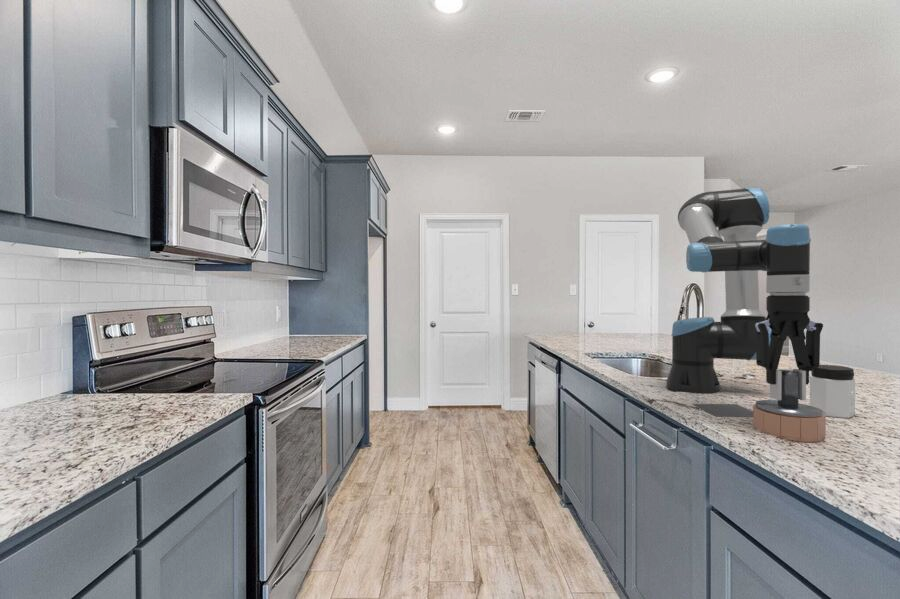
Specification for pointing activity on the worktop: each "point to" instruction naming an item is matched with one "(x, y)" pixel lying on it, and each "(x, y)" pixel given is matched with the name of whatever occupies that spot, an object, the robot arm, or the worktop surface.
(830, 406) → the jar
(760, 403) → the lid
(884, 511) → the worktop surface
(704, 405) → the mat
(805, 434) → the bowl
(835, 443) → the worktop surface
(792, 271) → the robot arm
